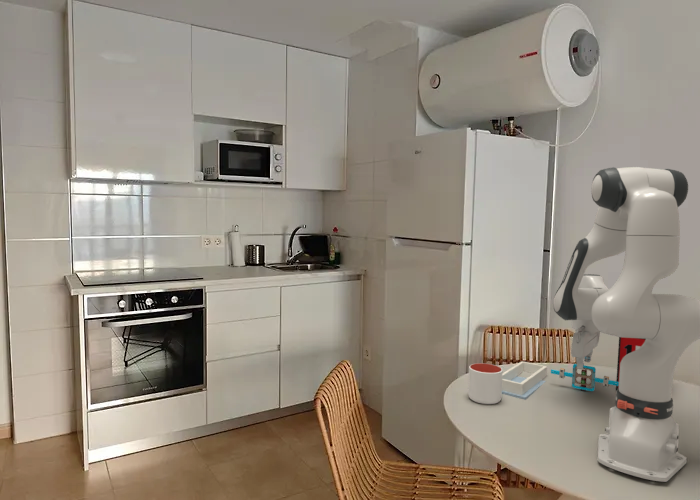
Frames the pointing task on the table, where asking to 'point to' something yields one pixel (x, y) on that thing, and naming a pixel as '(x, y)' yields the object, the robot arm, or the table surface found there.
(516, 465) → the table surface
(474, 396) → the cup
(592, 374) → the gear mechanism
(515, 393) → the white blue rectangular tray
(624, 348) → the cleaning product box
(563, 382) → the table surface
